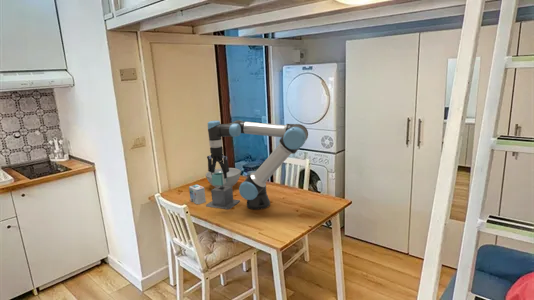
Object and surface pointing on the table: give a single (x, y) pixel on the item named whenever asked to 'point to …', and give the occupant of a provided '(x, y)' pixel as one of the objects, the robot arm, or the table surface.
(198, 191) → the light bulb box
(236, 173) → the decorative bowl
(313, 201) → the table surface
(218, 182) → the sleeve
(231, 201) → the bearing block
